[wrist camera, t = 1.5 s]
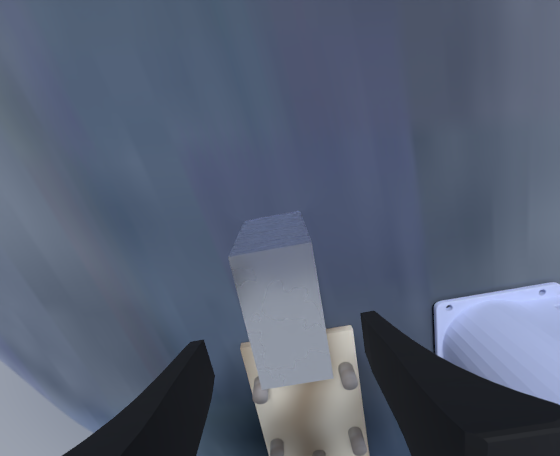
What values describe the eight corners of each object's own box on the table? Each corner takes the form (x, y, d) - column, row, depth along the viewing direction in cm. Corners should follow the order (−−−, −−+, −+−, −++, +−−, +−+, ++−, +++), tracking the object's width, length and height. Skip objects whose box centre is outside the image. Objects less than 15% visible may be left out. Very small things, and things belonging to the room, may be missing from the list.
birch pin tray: (350, 324, 22) (358, 343, 20) (367, 451, 26) (375, 478, 24) (241, 343, 23) (237, 363, 20) (273, 465, 26) (273, 493, 24)
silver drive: (300, 210, 20) (312, 241, 13) (316, 307, 22) (334, 378, 15) (244, 220, 20) (227, 257, 13) (265, 316, 22) (260, 390, 15)
